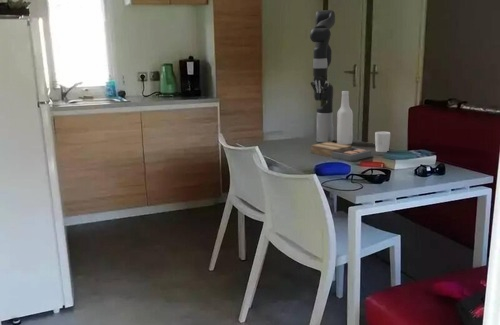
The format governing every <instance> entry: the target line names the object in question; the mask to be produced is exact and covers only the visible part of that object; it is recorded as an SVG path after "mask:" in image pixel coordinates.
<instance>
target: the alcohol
mask: <svg viewBox="0 0 500 325" xmlns="http://www.w3.org/2000/svg"><path fill="white" fill-rule="evenodd" d="M349 96H350V91H349V90H342V91H341V100H340V101H341V102H340V107H339V109H338V110H337V113H336V143H339V144H344V145H350V146H351V145H352V144H353V136H354V135H353V132H354V131H353V130H354V126H353V125H354V123H353V122H354V112H353V110H352V108H351V107H350V98H349Z"/></svg>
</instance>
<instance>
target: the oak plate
mask: <svg viewBox="0 0 500 325" xmlns="http://www.w3.org/2000/svg"><path fill="white" fill-rule="evenodd" d="M348 148H353V147H352V145H351V144H350V145H344V144H339V143H337V142H333V141H332V142H326V143H322V142H320V143H317V144H312V145H310V153H311V154H315V155H319V156H324V157H328V158H329V157H330V158H332V152H334V151H339V150H343V149H348Z"/></svg>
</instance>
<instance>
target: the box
mask: <svg viewBox="0 0 500 325" xmlns="http://www.w3.org/2000/svg"><path fill="white" fill-rule="evenodd" d="M357 149H360V148H357V147H352V148H348V149H343V150H339V151H334V152H332V157H331V158H332V159H334V160H335V159H336V160H341V161H345V162H346V161H347V162H354V161H358V160H362V159H366V158H371V157H372V150H371V149H370V150H368V149H364V148H361V149H362V150H367V151H365V152H361V153H356V154H352V155H347V154H344V152H348V151H353V150H357Z"/></svg>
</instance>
